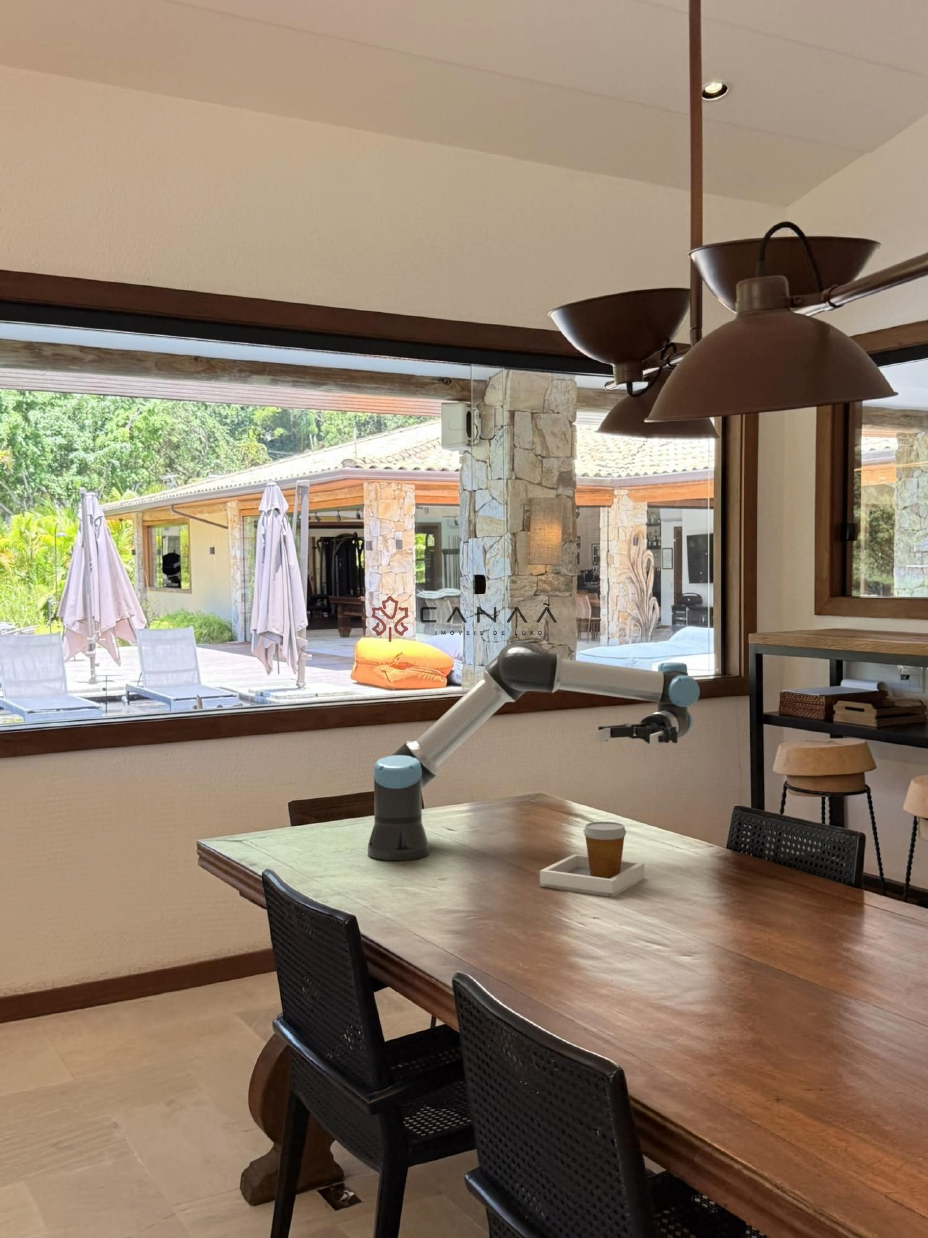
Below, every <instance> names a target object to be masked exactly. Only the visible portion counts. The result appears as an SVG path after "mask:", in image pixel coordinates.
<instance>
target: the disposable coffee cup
mask: <svg viewBox="0 0 928 1238" xmlns="http://www.w3.org/2000/svg"><path fill="white" fill-rule="evenodd" d="M584 826H585V827H584V829H583V830H582V832H583V835H584V836H585V842H586V852H587V856H588V860H589V868H590V876H593V877H600V878H607V879H611V878H612V877H614V876H616V875H618V874H620V869H621V861H622V859H623V850H624V842H625V836H626V834H627V830H626V827H625V825H624V824H623V823H621V822H615V821H592V822H588V823H586V824H585V825H584Z"/></svg>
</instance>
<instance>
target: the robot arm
mask: <svg viewBox="0 0 928 1238" xmlns="http://www.w3.org/2000/svg"><path fill="white" fill-rule="evenodd" d="M558 690H561V691H562V690H563V691H569V692H577V693H585V694H594V695H600V696H602V695H603V696H609V697H616V698H622V699H623V698H624V699H634V700H639V701H648V702H656V703H657V712H654V713H650V714H648V715H645V716H644V717H643V718H642V719H641V721H640V722H638V723H630V724H629V723H623V724H616V725H605V726H598V729H597V730H596V731H595V742H596V743H598V744H600V743H602V742H609V740H611V739H615V738H629V739H634V740H635V739H640V740H643V741H644V742H645V743H647V744H649V747H650V748H651V747H655V746H659V745H665V744H668V743H670V741H671V742H672V743H671V744H677V743H678V739H679V738H682V737H683V736H685V735H686V734H688V733H689V732H690V731H691V729H692V727H693V724H694V723H693V716H692V714H691V713H690V711H689V710H688V707H690V706H693V705H694V704H695V703H696V702H697V701H698V699H699V697H700V687H699V684H698V682H697V681H696V680H695V679H694V678H693V677H692V676H690V675H689V673H688V666H687V664H686V663H684V662H660V663H659V664H658V666H657V670H649V669H641V668H635V667H627V666H618V665H614V664H613V665H611V664H604V663H597V662H596V663H595V662H590V661H581V660H575V659H566V658H562V657H561V656H560V655H559V653H553V652H552V653H551V652H546V651H543V650H540V649H538V648H537V647H536V646H535V645H534V644H531V643H530V642H526V641H523V640H521V641H513V642H511V643H508V644H507V645H505V646H504V647H503V648H502V649H501V650H500V652H499V653H498V655H496V656H495V658H494V659H492V661H491V662H489V664H487V665H486V666H485V667H484V668H483V677H482V678H481V679H480V680H479V681H478V682H477V683H475V685H474V686H473V687H471V688H470V690H468V691H467V692H466V693H465V694H464V695H463V696H462V697H461V698H460V699H459V700H458V701H456V703H455V704H454V705H452V706H451V707H450V708H449V709H448V710H447V711H446V712H445V713H444V714H443V715H442V716H440V718H439V719H438V720H436V721H435V722H434V724H432V725H431V726H430V727H429V728H428V729H427V730H426V731H425V732H424V733H423V734H422V735H421V736H419V737H418V738H417V739H416V740H413V741H412V740H408V741H405V743H403V745H401V746H400V747H399V748H398V749H397V750H396V751H395V752H394V753H392V754H391V755H389V756H384V757H381V758H379V759H378V760H377V761H375V763H374V768H373V772H372V777H373V779H374V780H373V790H374V793H373V796H374V797H373V798H374V803H373V804H374V805H373V806H374V808H373V809H374V813H373V814H374V823H373V827H372V831H371V834H370V836H369V840H368V844H367V855H368V856H369V857H370V858H372V857H373V859H375V858H378V859H377V860H380V859H383V861H392V860H399V861H410V860H416V858H417V859H420V858H424V857H427V856H428V855H429V854H430V843H429V841H428V837H427V833H426V831H425V828H424V825H423V820H422V819H423V817H422V814H423V813H422V810H423V809H422V807H423V806H422V790H423V788H425V787H426V786H427V785H428V784H429V783H430V782H431V781H432V780H433V779H434V778H435V777H436V776H437V775H438V774H439V766H440V764H441V763H443V761H445V760H446V759H447V758H448V757H449V756H450V755H451V754H452V753H453V752H455V751H456V749H457V748H459V747H460V746H461V745H462V744H463V743H464V742H466V740H467V739H468V738H469V737H470V736H472V734H474V733H475V732H476V731H477V729H479V728H480V727H481V726H482V725H483V724H484V723H485V722H487V720H488V719H489V718H491V717H492V716H493V715H494V714H495V713H496V712H497V711H498V710H499V709H501V708H502V707H503V705H504V704H505V703H509V702H510V703H515V702H516V701H517V700H519V699H520V697H522V695H524V693H526V692H543V693H544V692H546V693H551V694H553V693H555V692H556V691H558ZM426 855H427V856H426Z"/></svg>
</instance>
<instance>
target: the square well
mask: <svg viewBox="0 0 928 1238" xmlns="http://www.w3.org/2000/svg"><path fill="white" fill-rule="evenodd" d="M645 864H646V863H644V862H639V861H633V860H625V859H623V860H622V861H621V869H620V874H618V875H616V876H614V877H612V878H611V879H607V878H600V877H593V876H590V868H589V860H588V855H586V854H576V853H573V854H571V855H569V856H567V857H565V858H564V859H562V860H559V861H557V862H555V863H553V864H551V865H549V866H547V867H545V868H542V869H541V870H539V887H540V888H548V889H554V890H560V891H561V890H562V891H568V892H576V893H582V894H589V895H593V896H594V895H595V896H602V897H608V898H609V897H610V898H615V897H616V896H617V895H619V894H621V893H622V892H624V891H626V890H628V889H630V888H631V887H633V886H634V885H636V884H637V883H640V882H641V881H643V880H645V875H646V873H645ZM642 879H643V880H642Z"/></svg>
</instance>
